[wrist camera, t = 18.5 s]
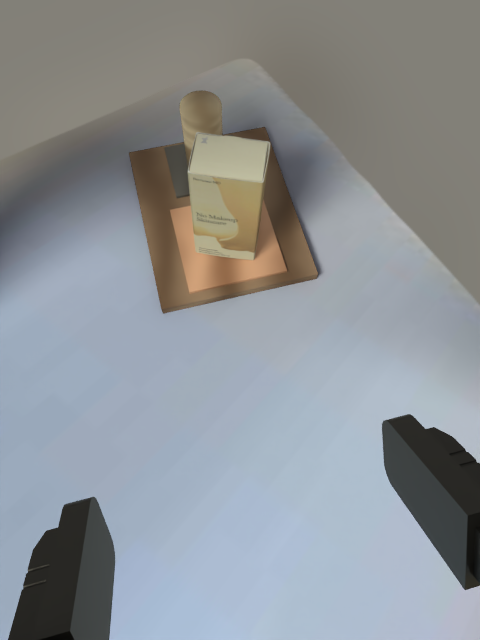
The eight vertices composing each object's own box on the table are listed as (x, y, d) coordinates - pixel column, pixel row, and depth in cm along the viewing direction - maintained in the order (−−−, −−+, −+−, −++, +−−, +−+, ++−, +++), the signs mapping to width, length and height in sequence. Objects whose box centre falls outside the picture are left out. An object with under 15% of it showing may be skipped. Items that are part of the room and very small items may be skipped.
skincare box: (194, 254, 47) (181, 172, 35) (202, 218, 48) (192, 129, 37) (257, 262, 46) (264, 182, 35) (262, 226, 48) (271, 139, 37)
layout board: (163, 313, 46) (146, 267, 37) (130, 158, 53) (110, 90, 44) (316, 278, 47) (334, 227, 39) (264, 133, 55) (270, 63, 46)
